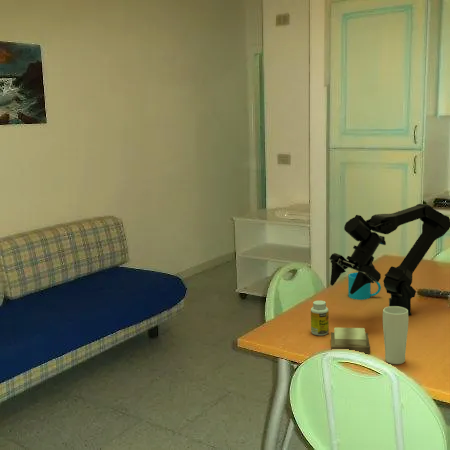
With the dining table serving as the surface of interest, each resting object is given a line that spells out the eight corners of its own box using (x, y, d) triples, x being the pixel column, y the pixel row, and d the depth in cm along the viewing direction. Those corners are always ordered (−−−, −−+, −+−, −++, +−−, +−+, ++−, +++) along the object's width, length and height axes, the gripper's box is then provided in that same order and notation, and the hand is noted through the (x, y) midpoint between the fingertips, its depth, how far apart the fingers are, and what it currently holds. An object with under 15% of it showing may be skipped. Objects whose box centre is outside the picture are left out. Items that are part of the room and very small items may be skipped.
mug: (346, 298, 218) (345, 277, 217) (351, 292, 225) (351, 271, 224) (378, 301, 213) (378, 280, 211) (382, 294, 220) (383, 274, 219)
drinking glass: (379, 357, 166) (379, 306, 163) (402, 355, 167) (402, 305, 164) (387, 367, 160) (387, 315, 157) (411, 365, 160) (412, 313, 157)
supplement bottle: (319, 337, 183) (318, 306, 181) (307, 332, 187) (306, 302, 185) (332, 333, 186) (332, 302, 184) (320, 328, 190) (319, 298, 188)
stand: (367, 339, 179) (367, 326, 179) (370, 353, 169) (370, 340, 168) (331, 338, 181) (331, 326, 181) (331, 353, 171) (331, 340, 170)
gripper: (400, 268, 186) (375, 310, 184) (358, 254, 202) (335, 292, 200) (382, 251, 180) (356, 293, 178) (341, 237, 196) (316, 276, 194)
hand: (340, 289), depth 188 cm, fingers open, 9 cm apart
